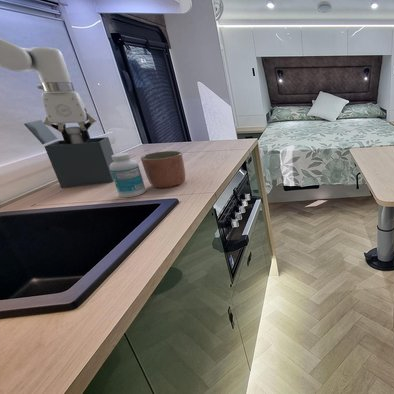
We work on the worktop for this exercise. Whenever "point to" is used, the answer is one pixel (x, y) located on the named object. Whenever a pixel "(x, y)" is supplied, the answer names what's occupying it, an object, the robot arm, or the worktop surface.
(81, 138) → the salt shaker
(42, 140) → the flap
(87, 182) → the carton
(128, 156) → the pill bottle
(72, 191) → the worktop surface
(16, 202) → the worktop surface
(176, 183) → the planter
